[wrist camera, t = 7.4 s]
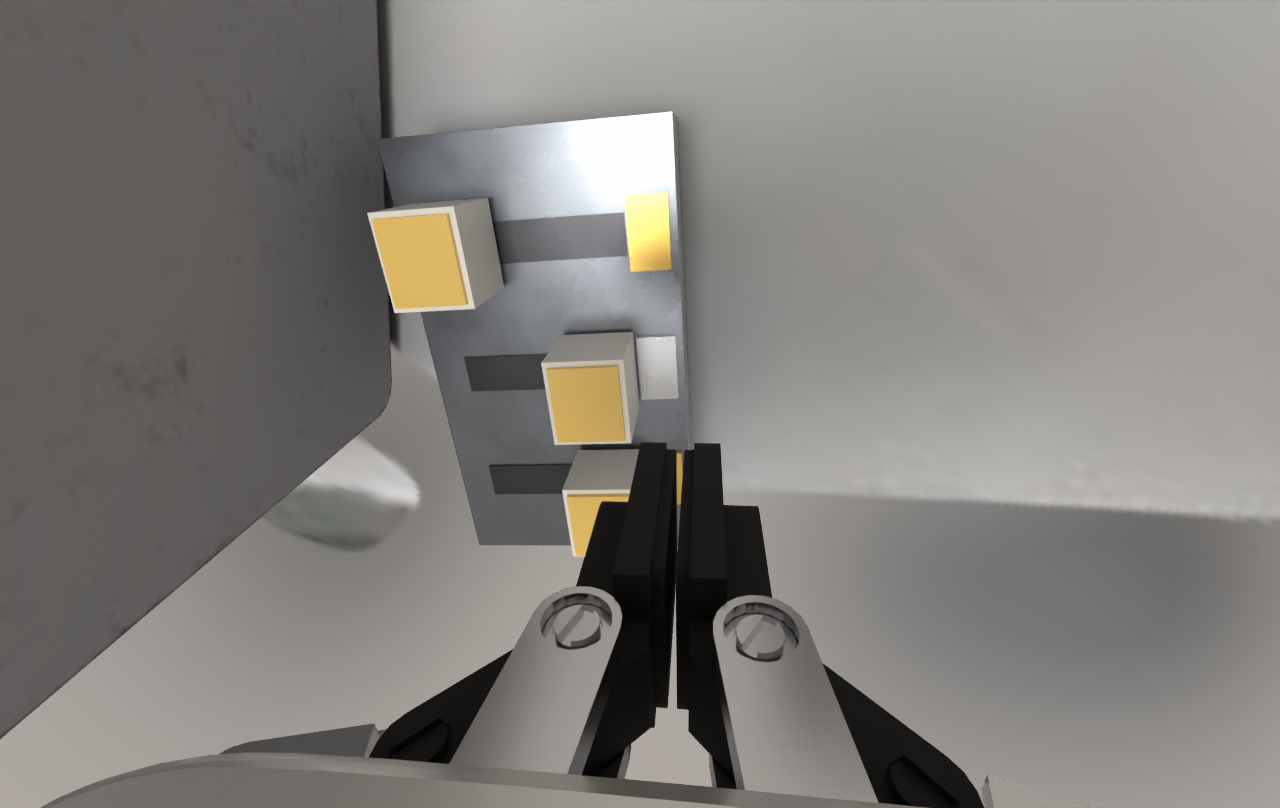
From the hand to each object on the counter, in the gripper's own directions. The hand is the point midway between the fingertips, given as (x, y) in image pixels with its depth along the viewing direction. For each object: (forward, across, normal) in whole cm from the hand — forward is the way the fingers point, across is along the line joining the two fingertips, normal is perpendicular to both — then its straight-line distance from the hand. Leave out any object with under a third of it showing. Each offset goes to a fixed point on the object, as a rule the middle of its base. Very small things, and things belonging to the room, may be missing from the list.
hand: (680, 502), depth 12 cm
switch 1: (+12, +9, -4) cm, 15 cm away
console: (+17, +6, +2) cm, 18 cm away
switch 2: (+12, +4, +2) cm, 12 cm away
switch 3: (+12, +4, +7) cm, 14 cm away
